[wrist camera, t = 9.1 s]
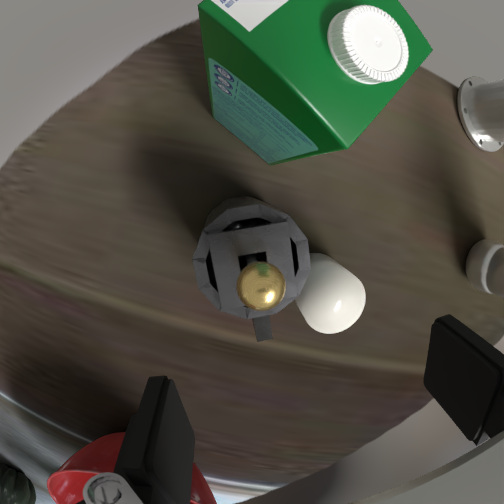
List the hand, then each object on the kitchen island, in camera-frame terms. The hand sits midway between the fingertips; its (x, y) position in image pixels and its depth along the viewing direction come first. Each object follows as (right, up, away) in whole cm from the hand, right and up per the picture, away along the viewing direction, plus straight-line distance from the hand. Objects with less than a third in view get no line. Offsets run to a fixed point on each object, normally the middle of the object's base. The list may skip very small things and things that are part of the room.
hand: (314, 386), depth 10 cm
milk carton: (0, +21, +24) cm, 32 cm away
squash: (-64, -55, +36) cm, 92 cm away
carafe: (-3, +5, +27) cm, 28 cm away
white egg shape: (+6, +1, +29) cm, 30 cm away
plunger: (-3, +6, +25) cm, 26 cm away
